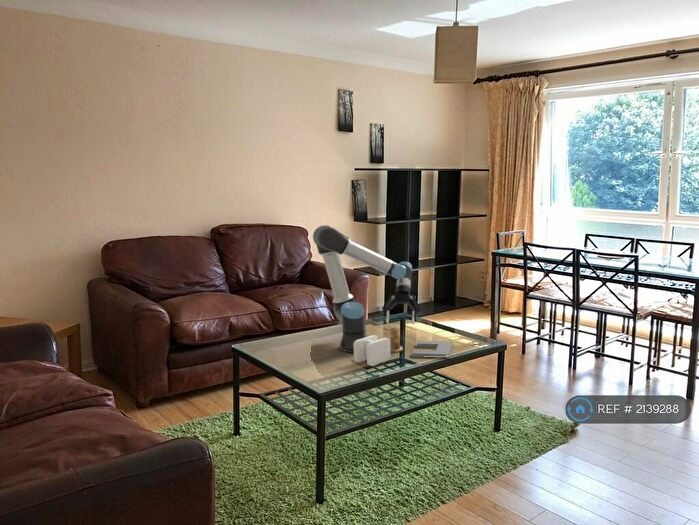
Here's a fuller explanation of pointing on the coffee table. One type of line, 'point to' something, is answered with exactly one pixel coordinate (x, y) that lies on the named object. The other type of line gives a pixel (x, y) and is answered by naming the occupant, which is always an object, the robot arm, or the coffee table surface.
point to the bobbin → (395, 339)
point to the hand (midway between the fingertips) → (399, 322)
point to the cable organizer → (372, 350)
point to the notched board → (441, 347)
